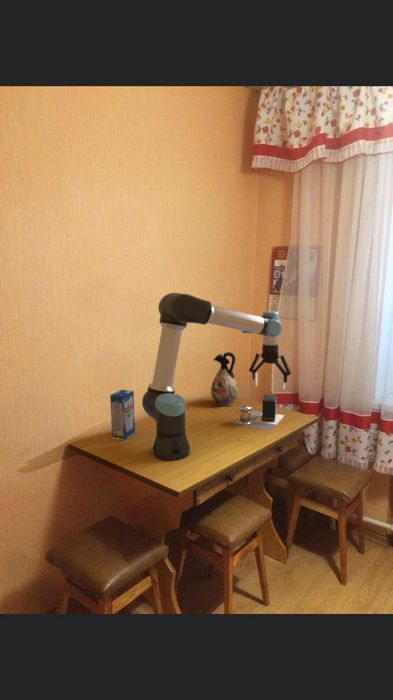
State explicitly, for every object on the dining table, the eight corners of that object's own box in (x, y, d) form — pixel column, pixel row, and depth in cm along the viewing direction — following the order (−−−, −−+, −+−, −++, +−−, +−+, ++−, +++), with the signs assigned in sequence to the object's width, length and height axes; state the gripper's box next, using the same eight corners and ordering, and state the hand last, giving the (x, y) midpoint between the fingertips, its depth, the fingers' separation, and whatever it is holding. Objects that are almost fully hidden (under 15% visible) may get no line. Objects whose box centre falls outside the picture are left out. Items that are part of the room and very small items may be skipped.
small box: (275, 422, 204) (275, 400, 202) (261, 421, 205) (261, 400, 204) (276, 415, 214) (276, 394, 212) (263, 414, 216) (263, 394, 214)
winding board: (232, 427, 203) (232, 423, 203) (249, 413, 224) (249, 409, 224) (271, 433, 195) (271, 429, 195) (285, 417, 216) (285, 414, 216)
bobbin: (235, 424, 203) (235, 407, 202) (240, 419, 210) (240, 403, 208) (249, 426, 200) (249, 409, 199) (254, 421, 207) (254, 405, 205)
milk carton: (123, 431, 200) (121, 389, 196) (135, 432, 198) (133, 390, 194) (112, 438, 190) (110, 395, 187) (124, 440, 188) (122, 396, 185)
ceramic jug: (206, 406, 237) (206, 352, 232) (216, 399, 251) (216, 348, 246) (236, 409, 230) (236, 354, 225) (244, 402, 244) (244, 350, 239)
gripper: (298, 344, 202) (297, 388, 205) (248, 341, 212) (247, 383, 216) (294, 346, 195) (293, 392, 199) (242, 343, 206) (242, 386, 209)
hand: (269, 387), depth 207 cm, fingers open, 13 cm apart
